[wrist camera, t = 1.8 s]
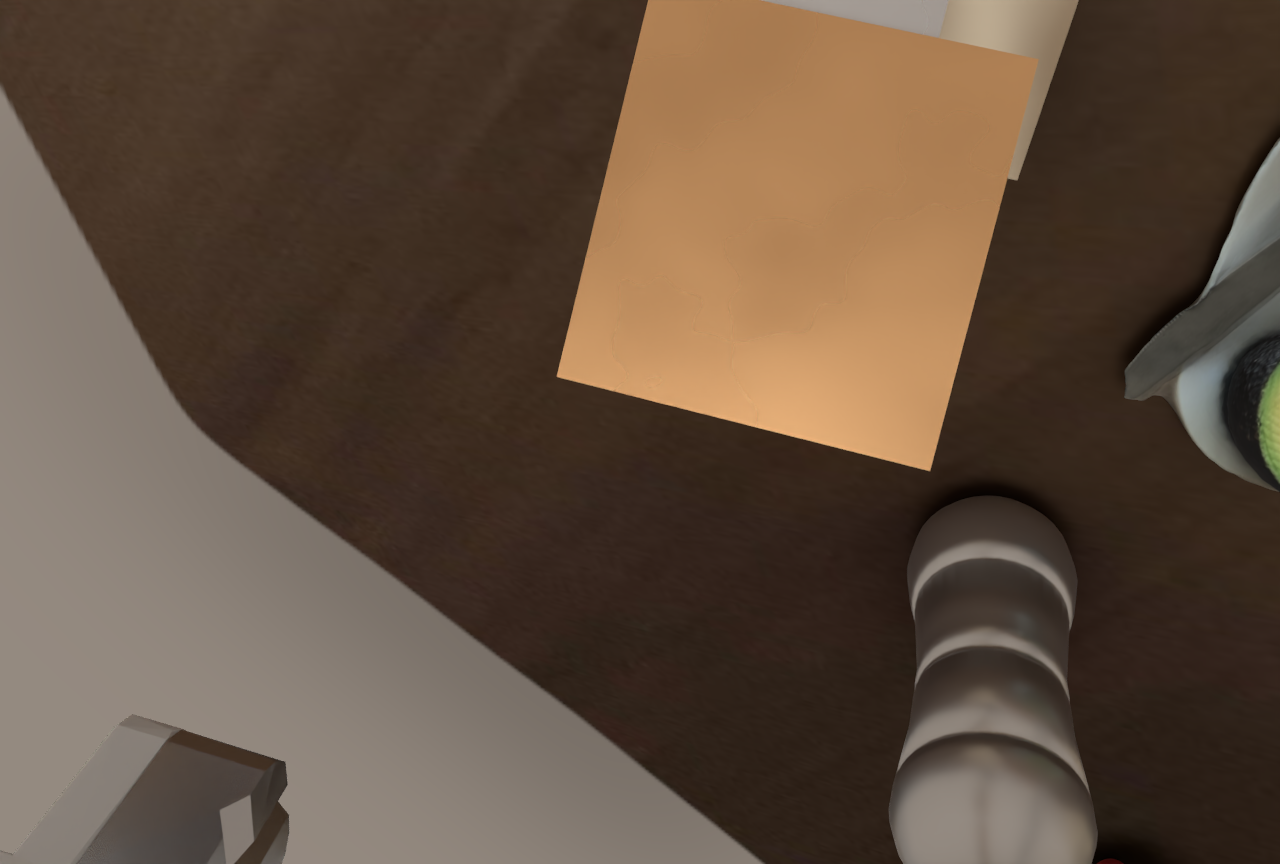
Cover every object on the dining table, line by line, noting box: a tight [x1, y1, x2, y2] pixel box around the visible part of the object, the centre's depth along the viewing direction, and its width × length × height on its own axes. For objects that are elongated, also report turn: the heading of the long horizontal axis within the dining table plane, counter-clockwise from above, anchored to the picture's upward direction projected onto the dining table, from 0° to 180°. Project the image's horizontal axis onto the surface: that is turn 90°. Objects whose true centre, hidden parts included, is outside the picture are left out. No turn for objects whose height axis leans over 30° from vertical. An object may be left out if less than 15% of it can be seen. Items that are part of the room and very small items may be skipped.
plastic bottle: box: [889, 495, 1098, 864], centre depth 43 cm, size 6×7×20 cm
